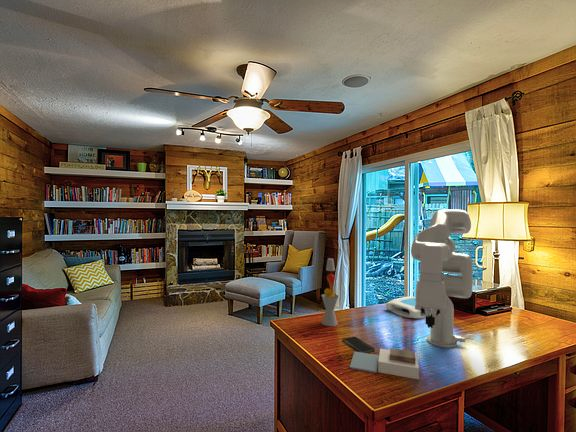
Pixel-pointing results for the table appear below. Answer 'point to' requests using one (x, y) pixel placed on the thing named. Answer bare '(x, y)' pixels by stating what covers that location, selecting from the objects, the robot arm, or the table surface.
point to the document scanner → (405, 307)
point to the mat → (364, 362)
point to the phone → (358, 345)
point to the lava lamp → (330, 297)
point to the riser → (397, 366)
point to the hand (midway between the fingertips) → (429, 326)
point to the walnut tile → (402, 356)
